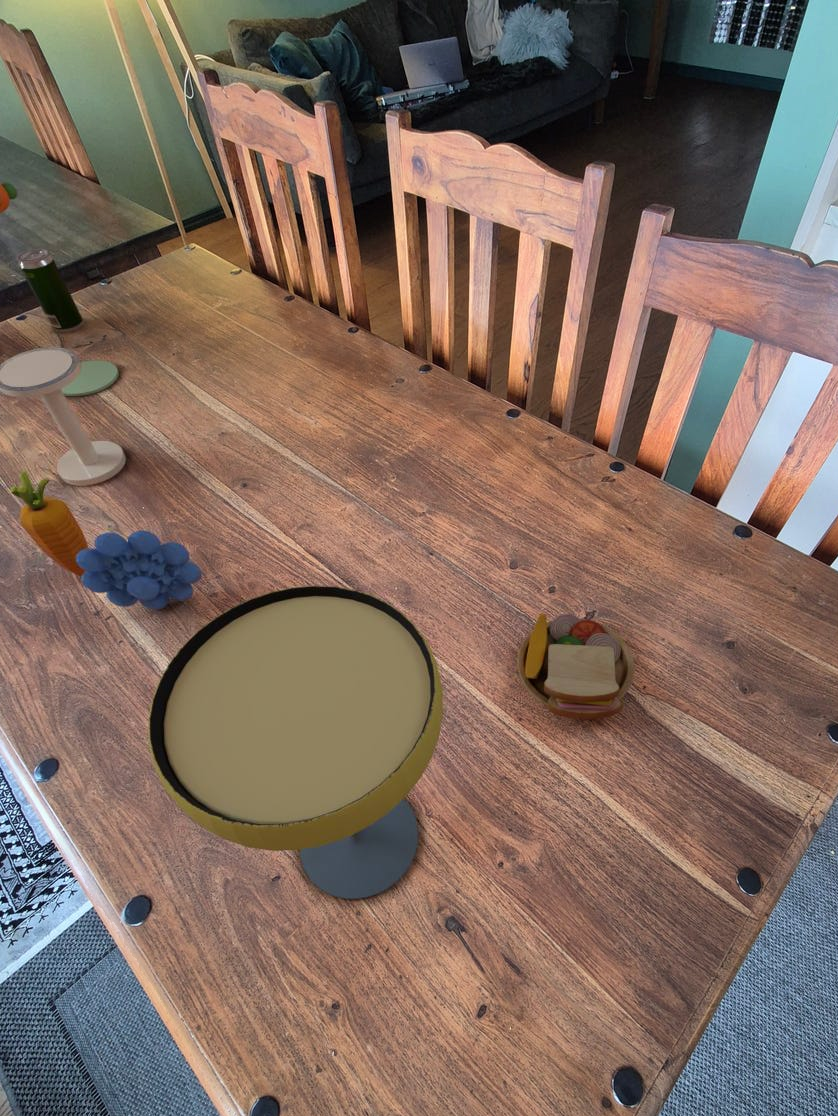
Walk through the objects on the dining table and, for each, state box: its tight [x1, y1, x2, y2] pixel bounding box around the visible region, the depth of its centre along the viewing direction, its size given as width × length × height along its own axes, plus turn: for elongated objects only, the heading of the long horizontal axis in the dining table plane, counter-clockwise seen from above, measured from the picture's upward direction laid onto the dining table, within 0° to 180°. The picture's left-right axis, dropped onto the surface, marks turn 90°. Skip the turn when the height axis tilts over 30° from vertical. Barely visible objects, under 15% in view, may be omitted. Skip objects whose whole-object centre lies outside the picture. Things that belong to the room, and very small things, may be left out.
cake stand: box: [0, 346, 127, 487], centre depth 89 cm, size 10×10×15 cm
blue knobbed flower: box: [76, 529, 202, 611], centre depth 73 cm, size 12×7×12 cm, turn 112°
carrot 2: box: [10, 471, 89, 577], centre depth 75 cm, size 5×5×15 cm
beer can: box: [16, 248, 84, 334], centre depth 115 cm, size 5×5×12 cm
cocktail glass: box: [147, 585, 444, 900], centre depth 51 cm, size 18×18×25 cm
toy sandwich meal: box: [516, 613, 635, 720], centre depth 70 cm, size 12×14×5 cm
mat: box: [61, 359, 120, 397], centre depth 108 cm, size 10×10×1 cm
